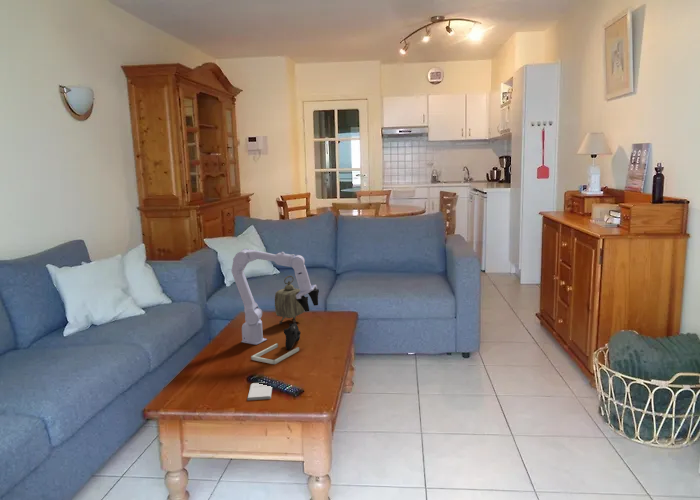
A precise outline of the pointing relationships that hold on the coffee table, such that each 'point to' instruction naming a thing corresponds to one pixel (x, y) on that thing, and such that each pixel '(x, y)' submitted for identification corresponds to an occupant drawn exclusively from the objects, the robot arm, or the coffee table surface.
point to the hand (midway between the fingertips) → (311, 308)
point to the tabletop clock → (287, 302)
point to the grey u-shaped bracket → (258, 358)
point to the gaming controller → (291, 335)
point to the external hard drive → (259, 392)
